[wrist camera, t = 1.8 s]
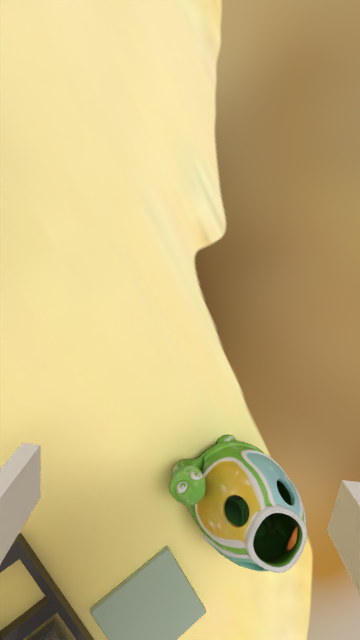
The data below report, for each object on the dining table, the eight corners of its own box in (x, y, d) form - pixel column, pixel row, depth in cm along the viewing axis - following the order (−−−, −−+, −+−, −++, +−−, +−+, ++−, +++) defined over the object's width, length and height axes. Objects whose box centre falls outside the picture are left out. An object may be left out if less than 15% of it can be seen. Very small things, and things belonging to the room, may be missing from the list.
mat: (134, 672, 35) (134, 678, 35) (90, 608, 34) (90, 613, 33) (204, 607, 38) (206, 611, 38) (167, 545, 37) (168, 549, 36)
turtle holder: (181, 404, 38) (219, 439, 26) (279, 457, 42) (347, 506, 31) (134, 491, 36) (153, 569, 24) (242, 537, 40) (300, 621, 29)
